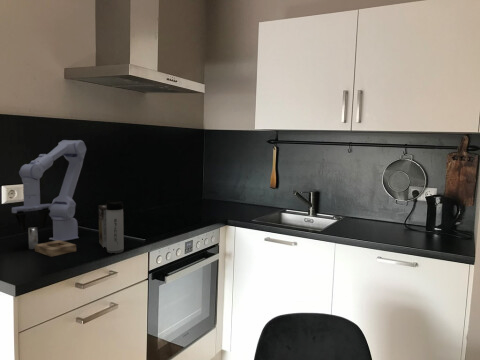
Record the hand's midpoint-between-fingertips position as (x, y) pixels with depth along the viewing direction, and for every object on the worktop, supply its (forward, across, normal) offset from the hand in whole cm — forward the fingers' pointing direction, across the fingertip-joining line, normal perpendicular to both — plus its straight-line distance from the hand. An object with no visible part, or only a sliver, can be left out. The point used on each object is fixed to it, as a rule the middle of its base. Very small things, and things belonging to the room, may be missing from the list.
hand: (32, 228), depth 157 cm
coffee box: (+8, +22, -18) cm, 30 cm away
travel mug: (+8, +17, -29) cm, 35 cm away
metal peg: (+8, 0, 0) cm, 8 cm away
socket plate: (+8, +3, -11) cm, 14 cm away
